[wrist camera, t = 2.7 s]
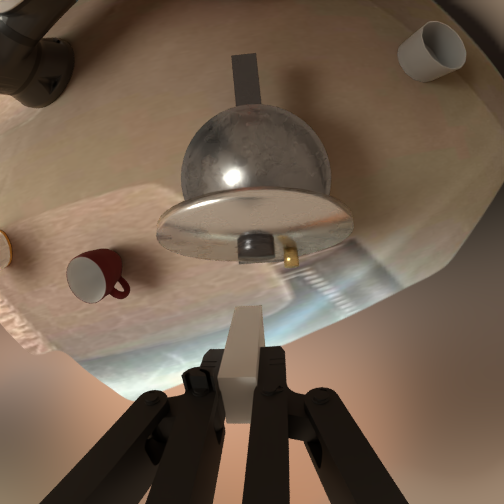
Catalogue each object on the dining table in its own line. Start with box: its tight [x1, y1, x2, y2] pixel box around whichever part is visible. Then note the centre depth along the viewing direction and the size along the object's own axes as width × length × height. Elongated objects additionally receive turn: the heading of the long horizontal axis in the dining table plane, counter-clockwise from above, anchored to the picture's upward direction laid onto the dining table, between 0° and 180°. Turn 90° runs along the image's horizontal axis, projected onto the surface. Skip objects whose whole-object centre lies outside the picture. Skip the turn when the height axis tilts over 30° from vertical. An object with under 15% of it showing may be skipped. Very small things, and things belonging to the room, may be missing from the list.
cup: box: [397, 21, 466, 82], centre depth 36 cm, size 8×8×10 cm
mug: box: [67, 249, 130, 303], centre depth 49 cm, size 11×8×10 cm
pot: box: [181, 53, 331, 200], centre depth 42 cm, size 28×19×10 cm
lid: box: [156, 186, 354, 268], centre depth 31 cm, size 20×19×3 cm
